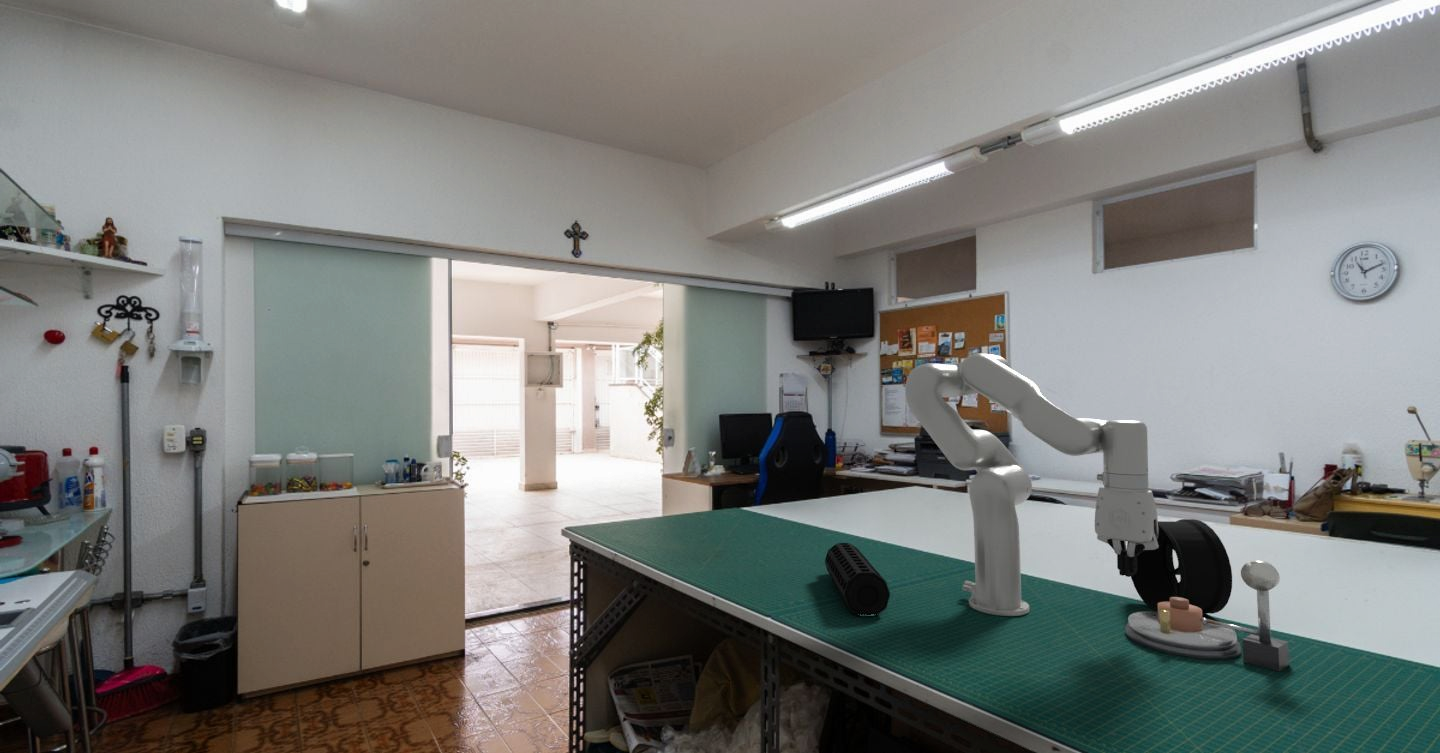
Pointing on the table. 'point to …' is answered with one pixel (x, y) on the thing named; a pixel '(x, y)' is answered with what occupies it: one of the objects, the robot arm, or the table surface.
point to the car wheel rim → (1185, 567)
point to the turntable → (1181, 632)
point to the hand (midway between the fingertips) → (1127, 574)
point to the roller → (857, 580)
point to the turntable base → (1184, 651)
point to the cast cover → (1182, 614)
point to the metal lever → (1260, 620)
